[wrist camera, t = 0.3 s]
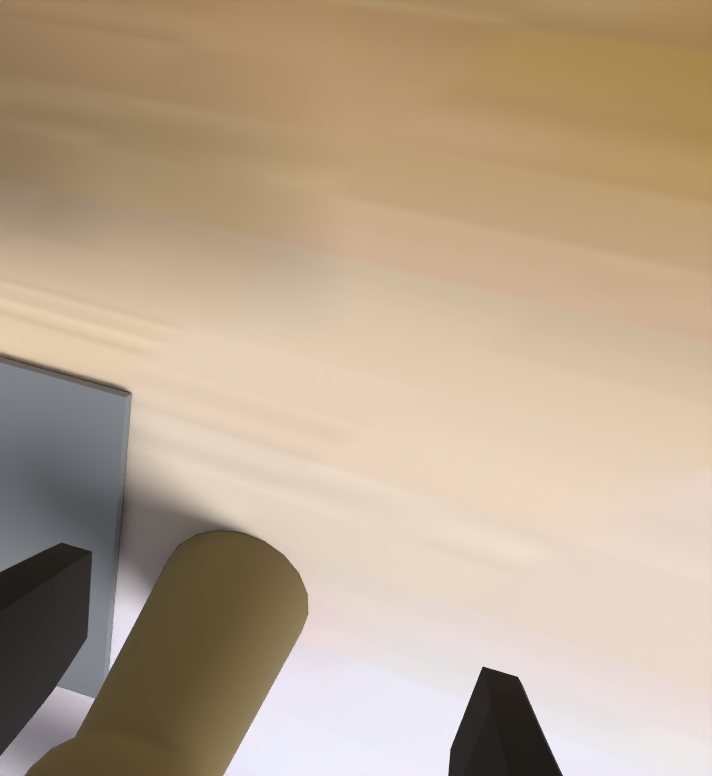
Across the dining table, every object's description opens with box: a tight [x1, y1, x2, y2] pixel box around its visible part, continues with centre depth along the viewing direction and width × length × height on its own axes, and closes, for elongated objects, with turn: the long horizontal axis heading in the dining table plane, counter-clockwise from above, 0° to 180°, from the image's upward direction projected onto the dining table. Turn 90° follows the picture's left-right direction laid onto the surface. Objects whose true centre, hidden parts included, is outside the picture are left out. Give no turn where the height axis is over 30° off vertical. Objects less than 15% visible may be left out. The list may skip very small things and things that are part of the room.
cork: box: [25, 531, 308, 776], centre depth 18 cm, size 6×6×11 cm
